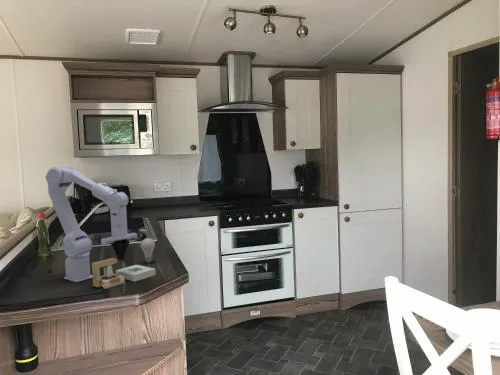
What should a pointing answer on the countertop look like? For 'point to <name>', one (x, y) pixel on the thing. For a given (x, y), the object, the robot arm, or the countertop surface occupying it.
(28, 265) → the countertop surface
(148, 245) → the lightbulb
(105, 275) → the steel pin
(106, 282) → the socket block
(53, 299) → the countertop surface
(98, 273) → the tan l-shaped wooden piece
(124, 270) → the pale grey flat frame
